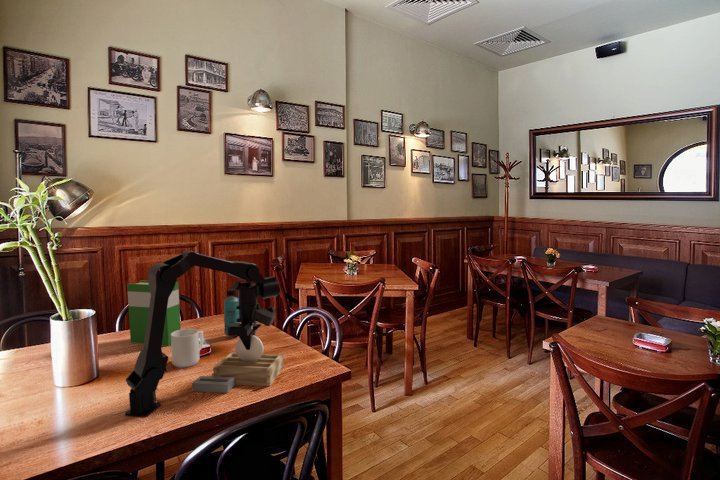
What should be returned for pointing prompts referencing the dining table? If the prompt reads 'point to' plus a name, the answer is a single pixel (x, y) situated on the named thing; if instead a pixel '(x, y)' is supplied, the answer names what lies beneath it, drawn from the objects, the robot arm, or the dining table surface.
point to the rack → (250, 369)
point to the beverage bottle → (230, 309)
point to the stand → (213, 384)
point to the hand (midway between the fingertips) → (249, 348)
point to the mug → (186, 347)
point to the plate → (254, 351)
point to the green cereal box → (140, 309)
